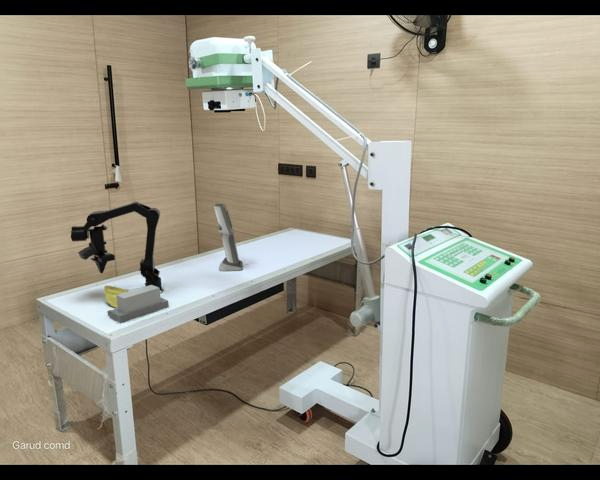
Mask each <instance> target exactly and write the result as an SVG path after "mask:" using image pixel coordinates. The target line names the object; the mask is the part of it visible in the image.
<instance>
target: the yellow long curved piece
mask: <svg viewBox="0 0 600 480" xmlns="http://www.w3.org/2000/svg"><path fill="white" fill-rule="evenodd" d="M128 291H129V290H128V289H124V288H120V287H116V286H111V285H104V288H103V292H104V297H105V300H106V302H107V303H108V304H109V305H110V306H111V307H113V308H115V309H116V308H118V305H117V297H116V295H118V294H121V293H125V292H128Z"/></svg>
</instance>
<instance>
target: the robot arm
mask: <svg viewBox="0 0 600 480" xmlns="http://www.w3.org/2000/svg"><path fill="white" fill-rule="evenodd" d="M130 213H137V214H138V215H140V216H141V217H142V218H143V217H144V218H145V221H146V223H145V224H146V226H147V233H146V241H145V252H144V258H142V259H141V260H140V261H139V265H140V266H139V270H138V271H139V272H140V276H141V277H143V278H145V282H144V285H145V286H144V287H146V286H149V285H153V286H156V287H158V288H160V291H162V292H163V291H164V288H162V277H160V273H161V271H160V270H159V269H157V268H156V266H155V259H154V254H155V253H154V252H155V243H156V234H157V226H158V225H159V220H160V217H161V211H160V210H159V209H158V208H157V207H150V206H148V205H145V204H142V203H140V202H139V201H133V202H131V203H128V204H124V205H121V206H118V207H114V208H111V209H107V210H96V211H93V212H91V213H90V214H88V215H87V217H86V223H85V224H84V225H81V226H77V225H74V226H71V231H70V239H71V241H72V242H74V243H75V242H86V241H87V240H88V239H90V242H89V243H88V246H86V247H85V248H83V249H81V250H79V251H78V255H79V257H80V259H82V260H84V261H86V260H88V259H89V258H90V260H91V261H93V262H94V264H95V265H96V267H97V269H98V272H99V273H100V274H103V273H104V270H106V269H105V268H106V266H107V264H108V262H111V261H115V260H116V256H115V254H114V253H110V252H108V249H107V250H106V245H107V241H106V240H105V235H104V231H107V230H108V227H107V226H106V225H105V224H104V223H105V222H107V221H108V220H109V221H110V219H115V218H118V217H120V216H121V217H122V216H125V215H127V214H128V215H129V214H130ZM92 227H93V228H92Z"/></svg>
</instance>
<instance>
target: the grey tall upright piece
mask: <svg viewBox="0 0 600 480" xmlns="http://www.w3.org/2000/svg"><path fill="white" fill-rule="evenodd" d="M213 207H214V208H213V209H214V212H215V216H216V219H217V223H218V228H217V232H218V233H220V237H221V242H222V245H223V250H224V253H225V257H224V259H223V260H222V261H221V263H220V264H219V267H218V270H219V271H220V272H233V271H242V270H243V269H244V268H243V267H244V264H243V261H242V260H240V257H239V253H238V248H237V244H236V240H235V239H236V238H235V234H234V227H233V225H232V221H231V217H230V214H229V210H228V206H227V204H225V203H215V204H214V206H213Z"/></svg>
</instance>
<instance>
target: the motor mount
mask: <svg viewBox="0 0 600 480" xmlns="http://www.w3.org/2000/svg"><path fill="white" fill-rule="evenodd" d="M162 293H163V291H160V288H158V287H156V286H153V285H149V286H146V287H145V286H143V287H142V286H141V287H140V288H136V289H132V290H128V292H125V293H121V294H118V295H116V297H117V305H118V308H116V307H115V308H114V309H109V310H107V312H106V313H107V316H108V317H109V318H110V319H111V320H113V321H115V322H118V323H120V324H123V323H126V322H129V321H132V320H134V319H137V318H141V317H143V316H147V315H149V314H152V313H155V311H156V312H158V310H159V311H162V310H165V309H168V308H170V306H169V300H168V299H165V298H163V297H161V295H162ZM167 307H168V308H167ZM164 308H165V309H164ZM161 309H162V310H161Z"/></svg>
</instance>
